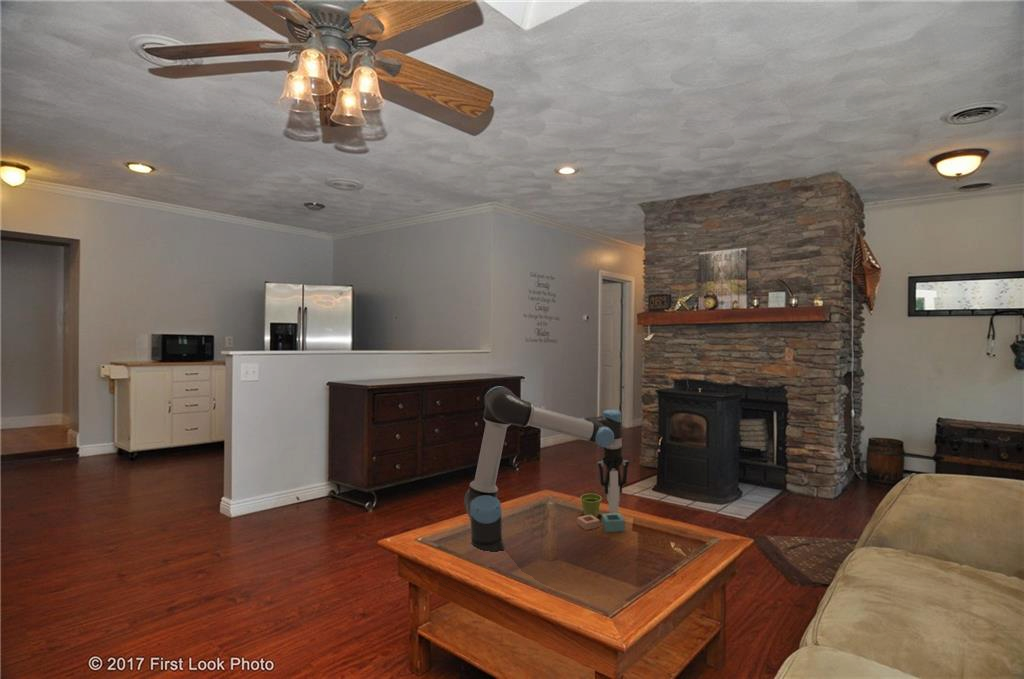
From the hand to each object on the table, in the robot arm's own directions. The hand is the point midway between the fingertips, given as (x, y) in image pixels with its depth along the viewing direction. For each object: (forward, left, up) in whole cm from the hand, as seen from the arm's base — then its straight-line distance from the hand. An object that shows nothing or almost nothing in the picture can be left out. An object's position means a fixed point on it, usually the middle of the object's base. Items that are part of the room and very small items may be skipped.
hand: (613, 500), depth 236 cm
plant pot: (-7, +12, -12) cm, 19 cm away
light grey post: (0, 0, -5) cm, 5 cm away
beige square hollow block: (-10, +3, -12) cm, 16 cm away
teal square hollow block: (0, 0, -12) cm, 12 cm away
